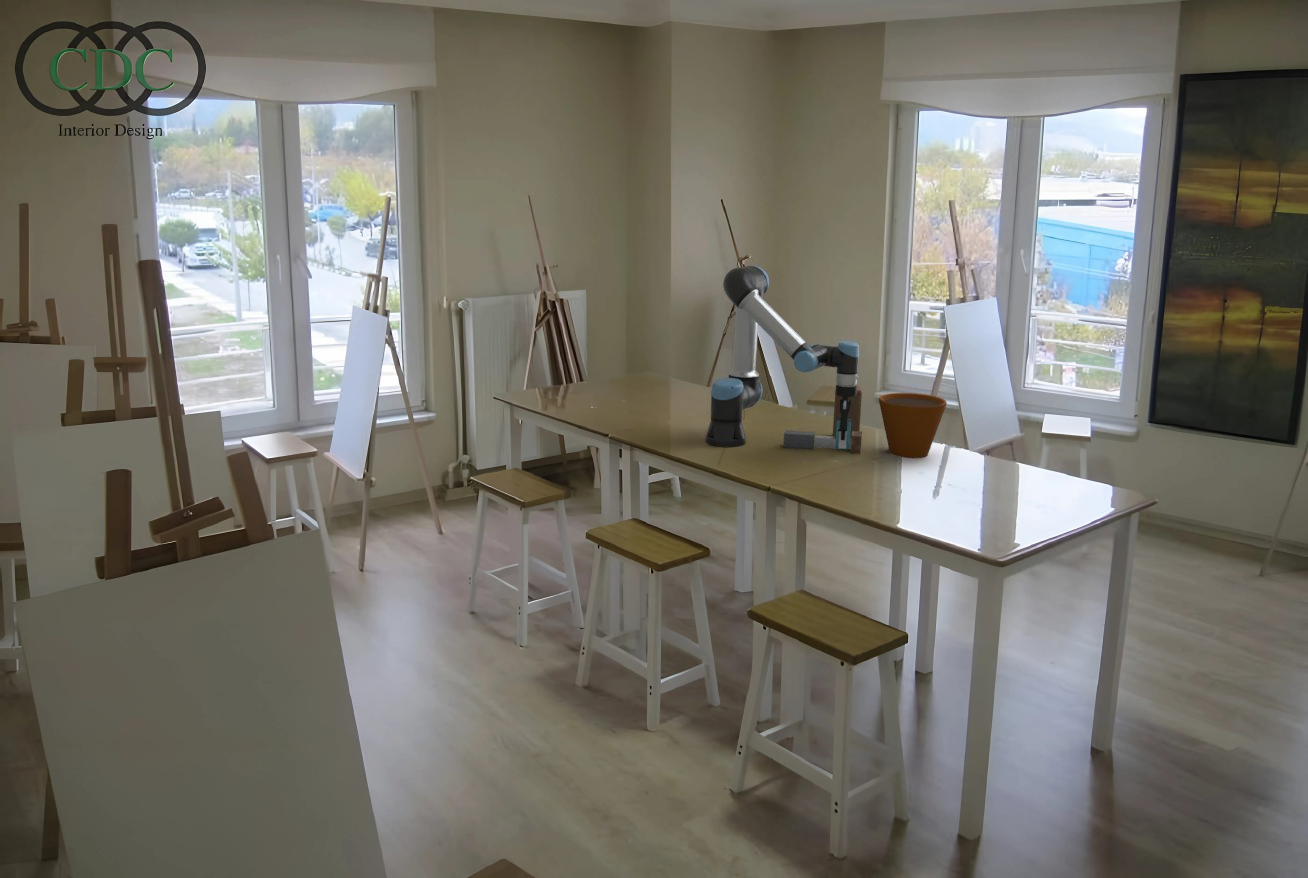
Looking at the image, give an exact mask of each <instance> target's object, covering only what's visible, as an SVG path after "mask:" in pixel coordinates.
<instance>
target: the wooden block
mask: <svg viewBox="0 0 1308 878" xmlns="http://www.w3.org/2000/svg"><path fill="white" fill-rule="evenodd" d="M856 386H857V393H856V396H854V397H849V398H850V399H849V400H851V406H850V411H849V413H848V419H851V432H850V438H852V431H861V415H862V401H863V400H862V399H863V386H861V385H856ZM835 392H836V389H835V390H834V406H833V409H834V410H833V425H832V436H835V437H836V429H837V418H841V413H840V399H842V396H837V395H836V394H835Z"/></svg>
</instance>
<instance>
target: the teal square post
mask: <svg viewBox="0 0 1308 878" xmlns="http://www.w3.org/2000/svg"><path fill="white" fill-rule="evenodd" d="M840 419H841V418H837V429H836V437H835V436H833V435H818V434H817V435H816V434H815V436H814V448H824V449H836V450H837V449H838V450H843V449H842V448H838V447H839V431H838V429H839V428H840ZM850 432H851V419H847V441H846V449H845V450H849V451H850V450H851V440H852V438H850Z"/></svg>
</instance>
